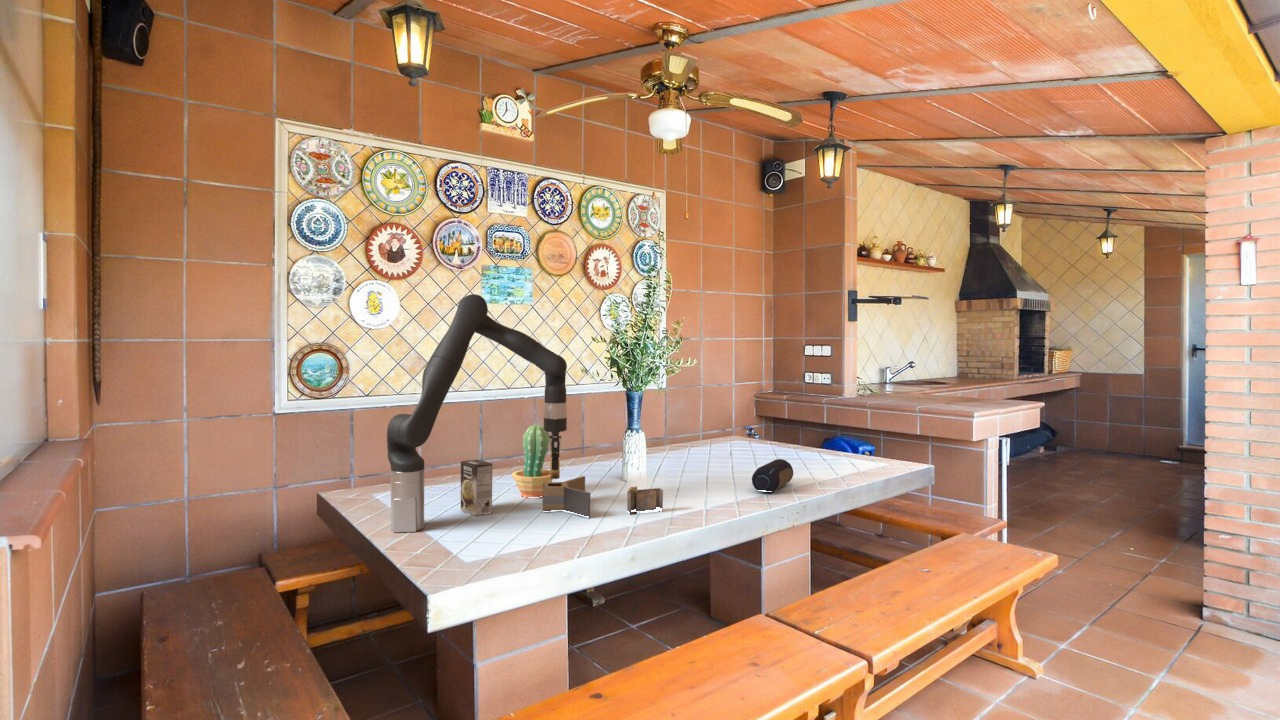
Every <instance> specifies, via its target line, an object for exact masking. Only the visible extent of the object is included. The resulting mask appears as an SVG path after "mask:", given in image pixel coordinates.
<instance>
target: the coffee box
mask: <svg viewBox="0 0 1280 720" xmlns="http://www.w3.org/2000/svg"><path fill="white" fill-rule="evenodd" d="M493 465H494V464H493V462H492V463H491V462H489V461H488V462H487V461H484V460H481V459H469V460H468V459H467V460H461V461H460V511H461V510H462V511H461V512H463V511H464V512H463V513H465V512H467V513H466V514H468V513H470V514H469V515H471V514H473V515H472V516H474V515H479V516H482V515H481V514H484V515H486V514H485V513H489V512H492V513H493V468H494V467H493ZM489 514H490V513H489Z"/></svg>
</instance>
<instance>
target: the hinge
mask: <svg viewBox="0 0 1280 720" xmlns="http://www.w3.org/2000/svg"><path fill="white" fill-rule="evenodd" d="M541 499H542V500H541V501H542V503H541V504H542V509H541V511H542V510H543V511H551V510H566V511H570V512H574V513H577V514H581V515H584V516H590V517H591V492H589V491H586V476H583V475H582V476H578V477H575V478H571V479H568V480H565V481H552V482H543V495H542V498H541Z"/></svg>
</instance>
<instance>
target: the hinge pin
mask: <svg viewBox="0 0 1280 720" xmlns="http://www.w3.org/2000/svg"><path fill="white" fill-rule="evenodd" d="M553 454H558V452H553ZM559 455H560V457H559V469H558V470H552V459H551V454H550V464H549V465H550V467H549V470H550V478H551V479H553V480H558V479H560V476H561V475H560V474H561V473H560V471H561V469H560V468H561V465H560V464H561V461H560V460H561V450H560V451H559Z"/></svg>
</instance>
